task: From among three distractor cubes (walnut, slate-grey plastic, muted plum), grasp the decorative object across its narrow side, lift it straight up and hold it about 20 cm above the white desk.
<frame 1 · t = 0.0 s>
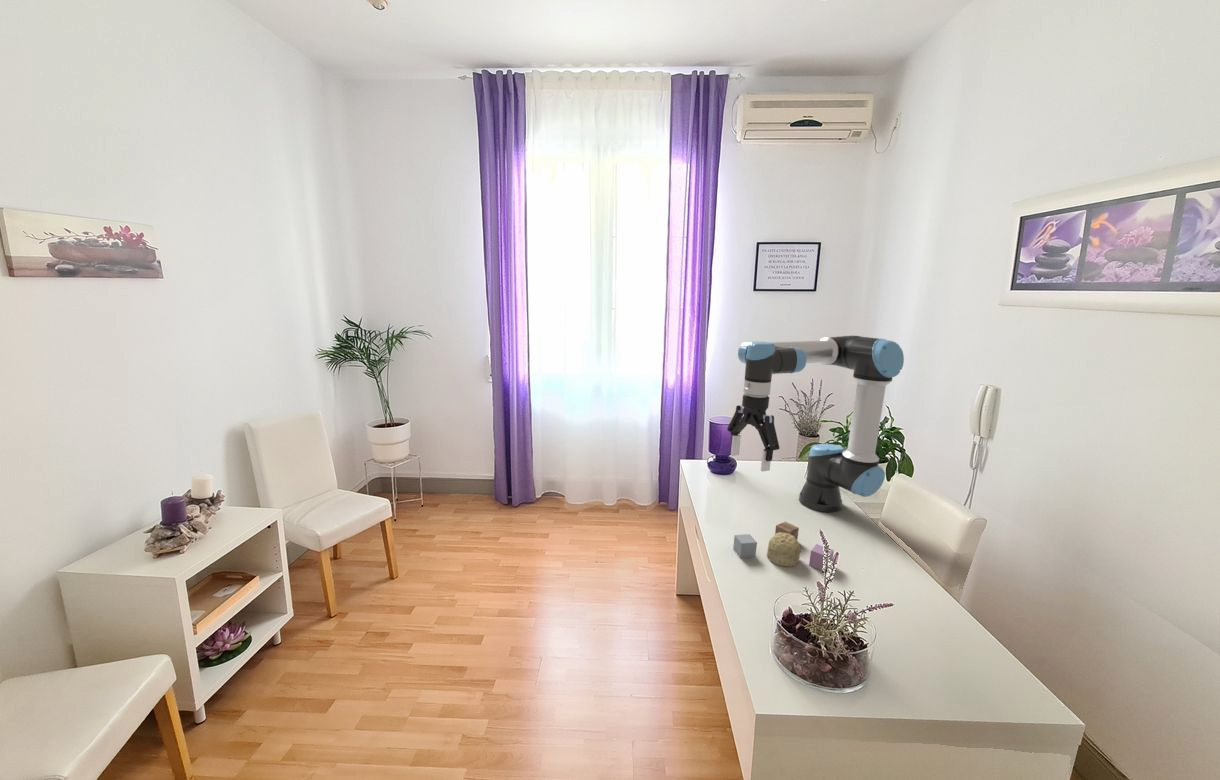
hand: (749, 462, 150), 28 cm above the table, fingers open, 13 cm apart
slate cube: (744, 553, 152), on the table
walnut cube: (785, 540, 161), on the table
decorative object: (782, 559, 150), on the table
plum cube: (820, 565, 147), on the table
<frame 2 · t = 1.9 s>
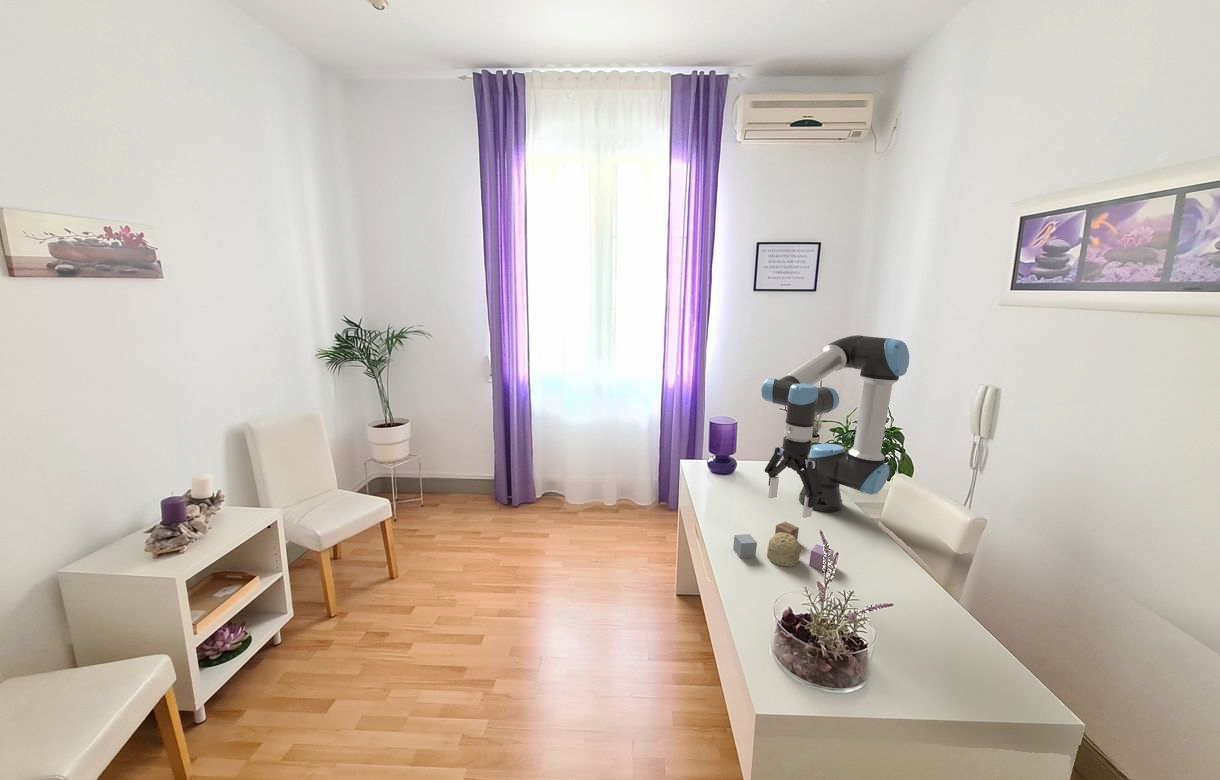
hand: (788, 506, 146), 17 cm above the table, fingers open, 13 cm apart
nothing on the table moved.
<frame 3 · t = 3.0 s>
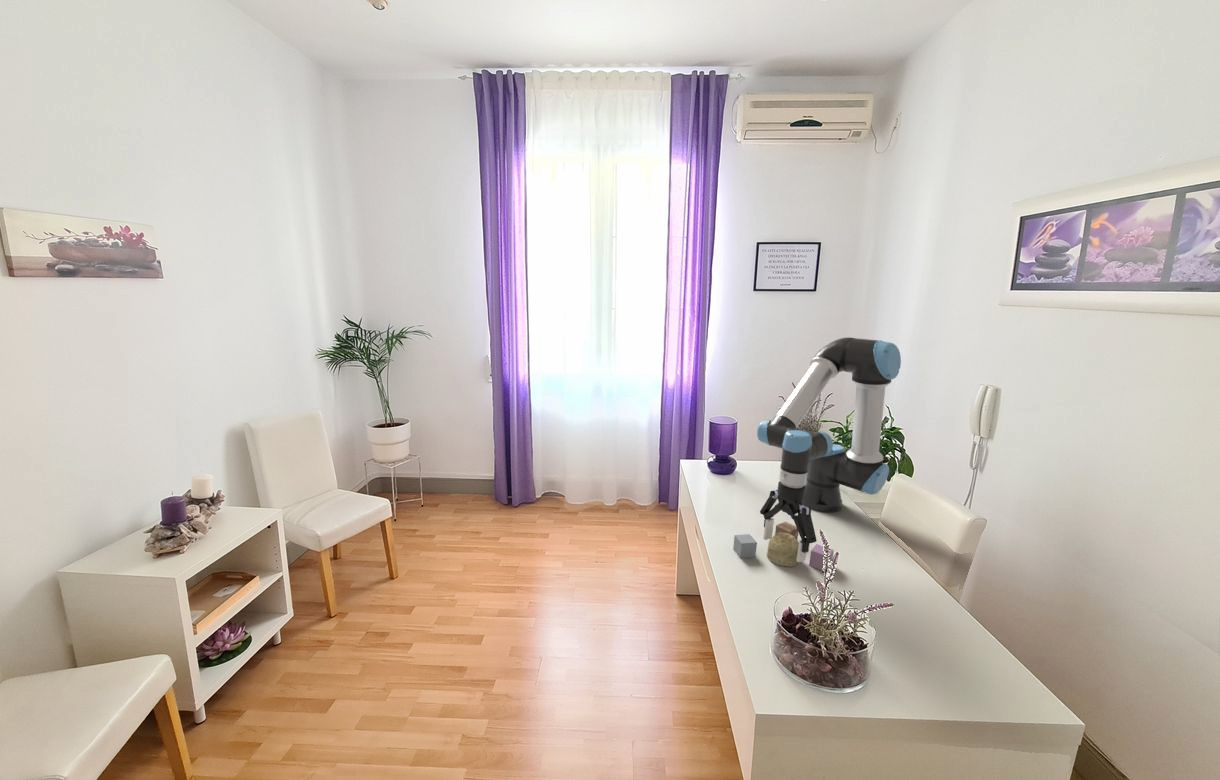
hand: (783, 549, 149), 3 cm above the table, fingers open, 13 cm apart
nothing on the table moved.
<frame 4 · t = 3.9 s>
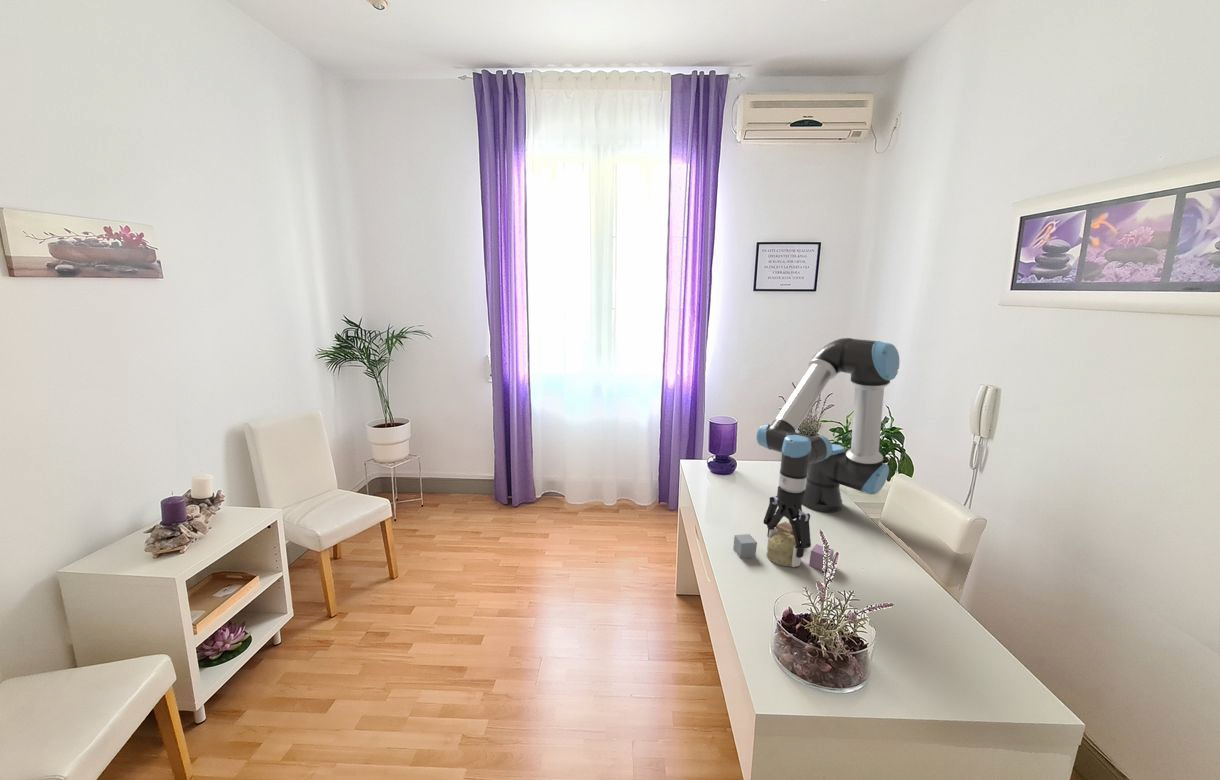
hand: (783, 556, 150), 1 cm above the table, fingers closed on decorative object, 9 cm apart
decorative object: (782, 559, 150), on the table, touching gripper
everything else where it was.
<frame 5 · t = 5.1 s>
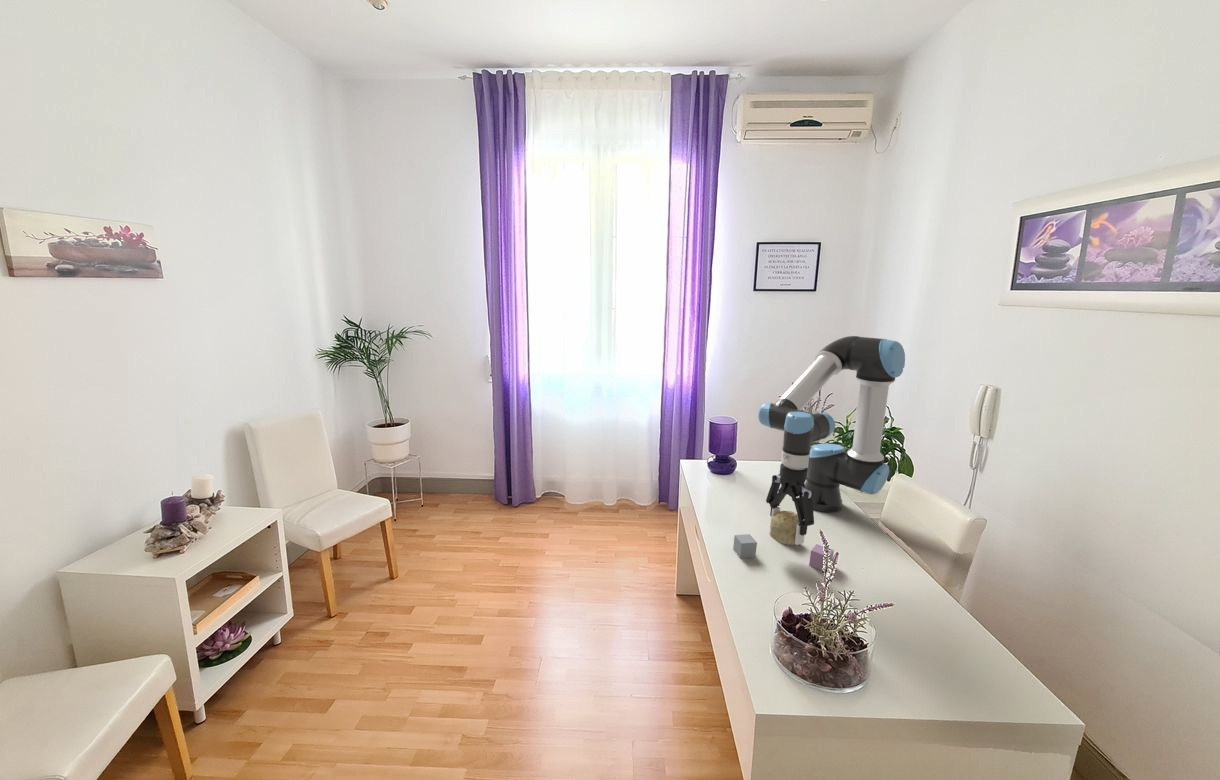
hand: (786, 535, 148), 8 cm above the table, fingers closed on decorative object, 9 cm apart
decorative object: (785, 537, 149), point 7 cm above the table, touching gripper
everything else where it was.
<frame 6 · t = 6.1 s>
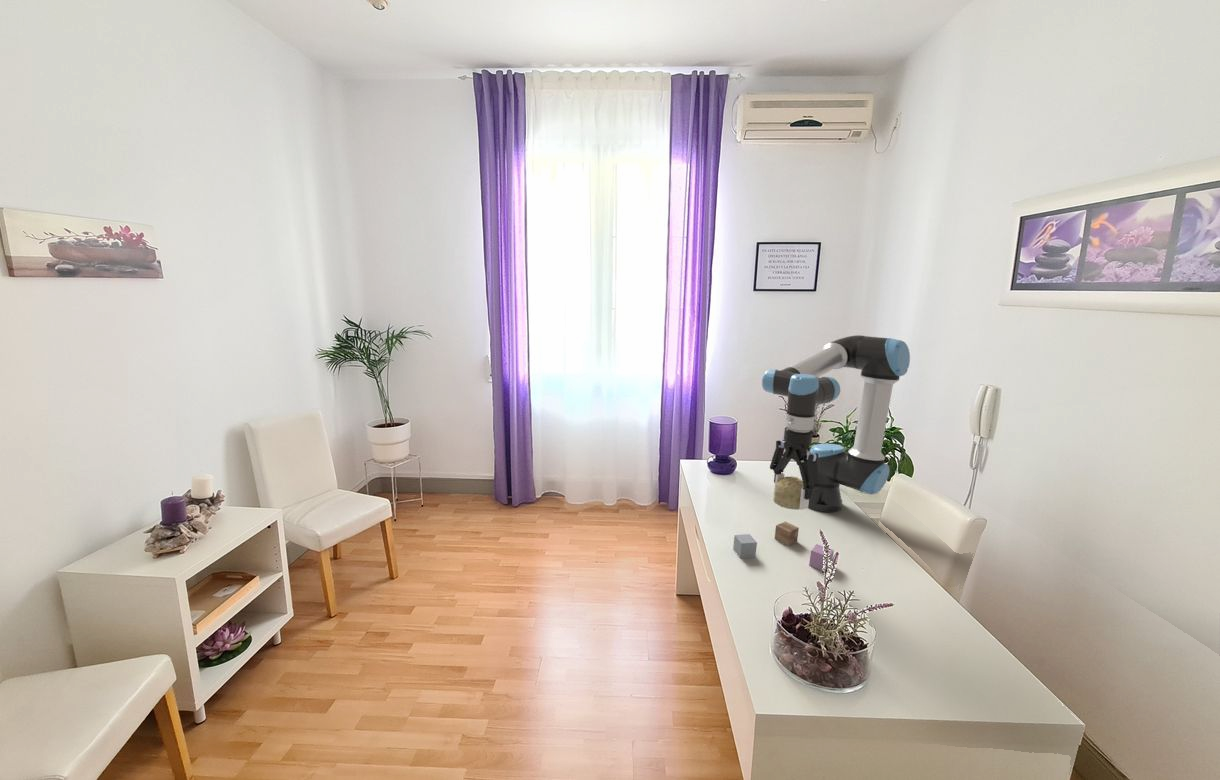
hand: (790, 501, 146), 19 cm above the table, fingers closed on decorative object, 9 cm apart
decorative object: (789, 503, 146), point 18 cm above the table, touching gripper
everything else where it was.
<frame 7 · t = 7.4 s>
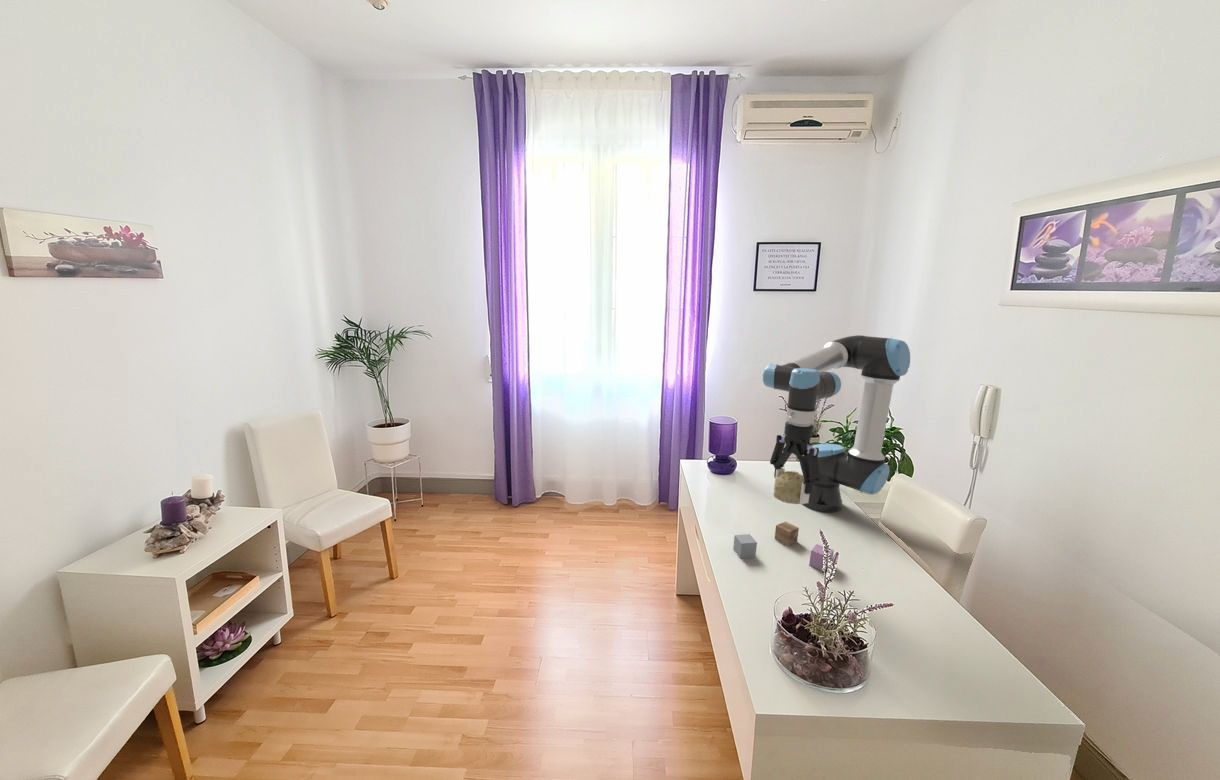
hand: (790, 495, 145), 20 cm above the table, fingers closed on decorative object, 9 cm apart
decorative object: (790, 498, 146), point 20 cm above the table, touching gripper
everything else where it was.
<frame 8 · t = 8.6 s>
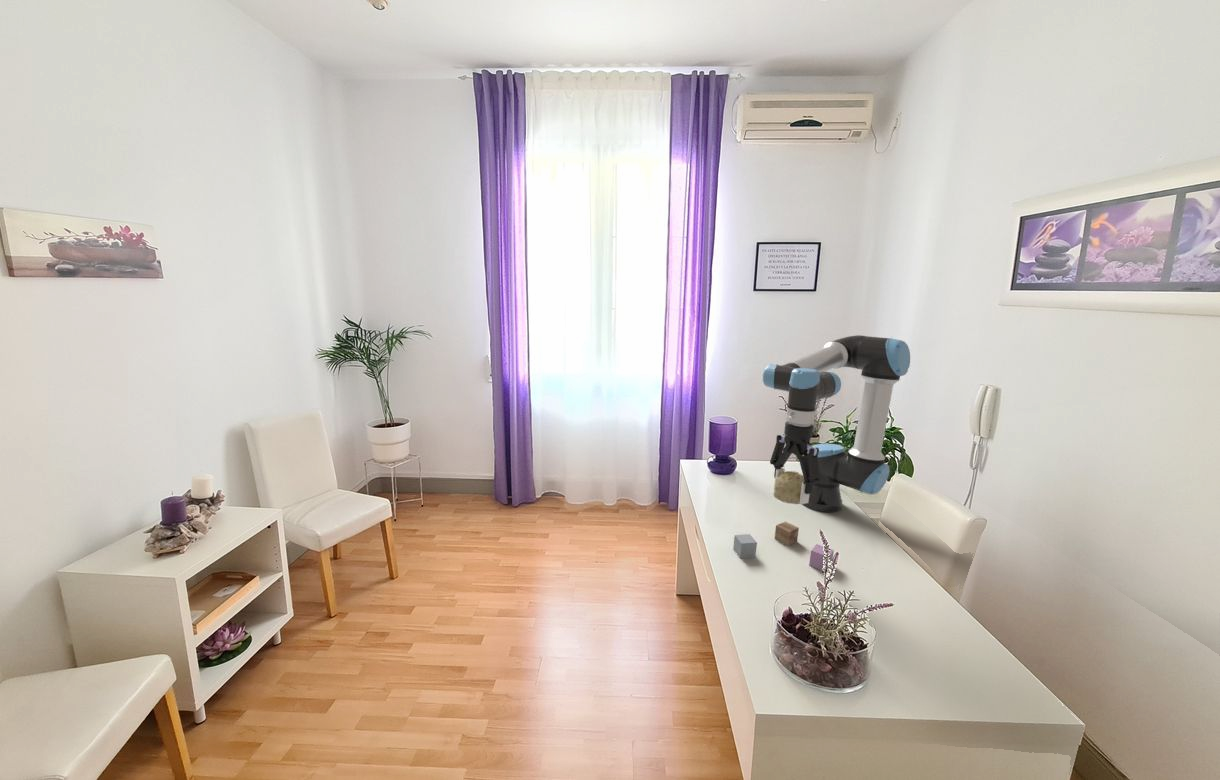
hand: (790, 495, 145), 20 cm above the table, fingers closed on decorative object, 9 cm apart
decorative object: (790, 498, 146), point 20 cm above the table, touching gripper
everything else where it was.
at the end: the gripper is holding decorative object; decorative object point 19.6 cm above the table; walnut cube moved 0.1 cm from its start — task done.
